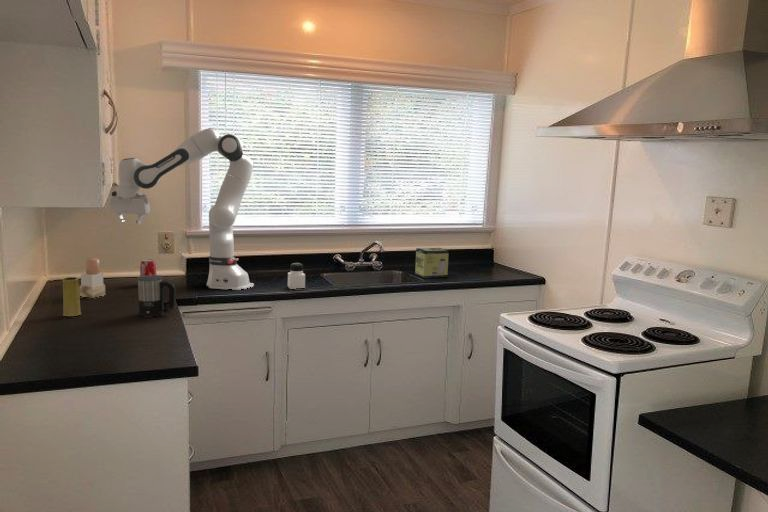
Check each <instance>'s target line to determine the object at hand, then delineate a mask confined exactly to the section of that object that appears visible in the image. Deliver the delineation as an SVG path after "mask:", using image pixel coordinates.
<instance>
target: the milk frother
mask: <svg viewBox="0 0 768 512" xmlns="http://www.w3.org/2000/svg"><path fill="white" fill-rule="evenodd" d="M136 279H137V290H138V292H137V293H138V316H139V315H140V316H144V317H143V318H153V317H152V316H157V317H160V316H159V315H161V316H163V315H164V314H165V313H164V311H165V310H166V309H168V308H169V309H170V310H172V309H175V306H176V291H177V290H176V284H174V282H172V281H170V280H163V276H162V275H157V274H156V275H147V276H138V277H136ZM164 287H167V288H168V292H169V293H168V294H169V295H168V301H167V300H166V301H165V300H164ZM162 314H163V315H162ZM140 316H139V317H140ZM149 316H151V317H149Z"/></svg>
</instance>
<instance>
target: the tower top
mask: <svg viewBox="0 0 768 512" xmlns="http://www.w3.org/2000/svg"><path fill="white" fill-rule="evenodd" d="M80 281H81V282H80V285H81V286H88V287H95V286H99V285H103V284H104V273H103V272H99V274H94V275H92V274H87V273H86V272H84V273H81V274H80Z"/></svg>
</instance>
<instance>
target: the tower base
mask: <svg viewBox="0 0 768 512" xmlns="http://www.w3.org/2000/svg"><path fill="white" fill-rule="evenodd" d="M104 295H105V296H106V284H104V283H103V285H99V286H95V287H88V286H81V284H79V296H82V297H81V298H83V297H90V298H89V299H91V298H94V299H96V298H95V297H98V298H100V297H99V296H102V297H105V296H104Z"/></svg>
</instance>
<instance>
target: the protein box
mask: <svg viewBox="0 0 768 512" xmlns="http://www.w3.org/2000/svg"><path fill="white" fill-rule="evenodd" d="M449 253H450V251H449V250H448V249H445V248H442V247H424V248H423V247H422V248H420V247H418V248H417V247H416V251H415V267H414V268H415V270H414V272H415V273H414V275H415V276H416V275H418V276H421V277H430V276H444V275H447V276H448V272H449V271H448V269H449ZM418 276H417V277H418ZM421 277H420V278H421Z"/></svg>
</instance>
